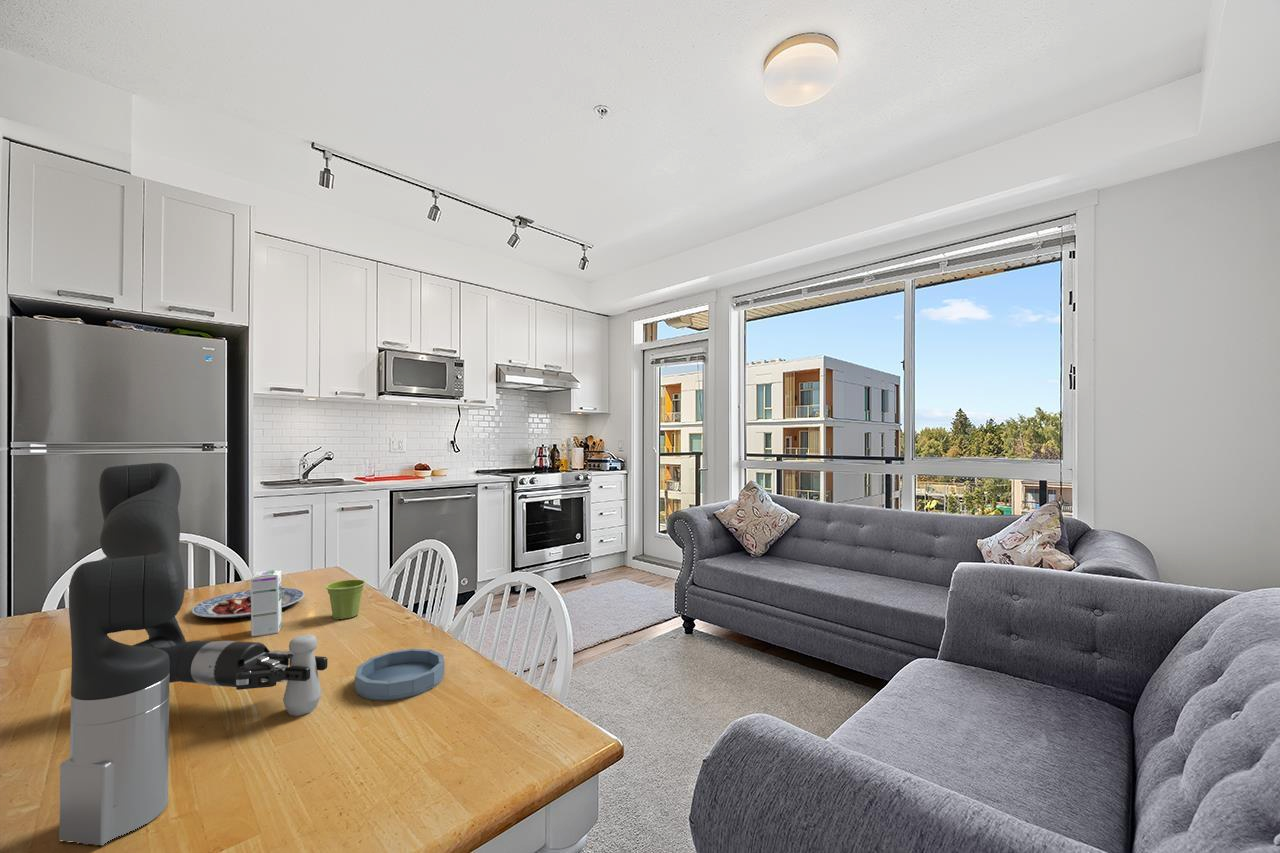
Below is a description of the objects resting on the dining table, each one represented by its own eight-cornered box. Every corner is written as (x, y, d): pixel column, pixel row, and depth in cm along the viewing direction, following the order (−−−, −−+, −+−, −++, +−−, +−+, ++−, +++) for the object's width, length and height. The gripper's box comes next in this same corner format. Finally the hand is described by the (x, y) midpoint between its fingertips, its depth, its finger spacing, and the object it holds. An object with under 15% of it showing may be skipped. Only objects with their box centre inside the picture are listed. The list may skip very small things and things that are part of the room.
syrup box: (279, 633, 135) (279, 574, 135) (249, 637, 132) (250, 576, 132) (281, 626, 140) (282, 568, 140) (253, 629, 137) (254, 571, 137)
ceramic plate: (195, 632, 136) (195, 620, 136) (188, 607, 155) (188, 596, 155) (313, 609, 154) (313, 599, 154) (294, 590, 173) (294, 580, 173)
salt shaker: (303, 720, 94) (303, 644, 94) (274, 716, 96) (275, 641, 96) (328, 703, 100) (329, 632, 100) (301, 700, 101) (302, 630, 101)
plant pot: (317, 620, 144) (317, 587, 144) (345, 609, 153) (346, 578, 153) (345, 623, 142) (345, 590, 142) (373, 612, 151) (373, 580, 151)
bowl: (417, 703, 100) (417, 685, 100) (336, 697, 102) (337, 680, 102) (457, 666, 116) (457, 651, 116) (386, 662, 118) (387, 647, 118)
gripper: (194, 658, 93) (287, 664, 90) (262, 628, 107) (344, 633, 105) (194, 703, 93) (287, 710, 90) (261, 667, 107) (343, 672, 104)
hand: (317, 668), depth 98 cm, fingers open, 3 cm apart
